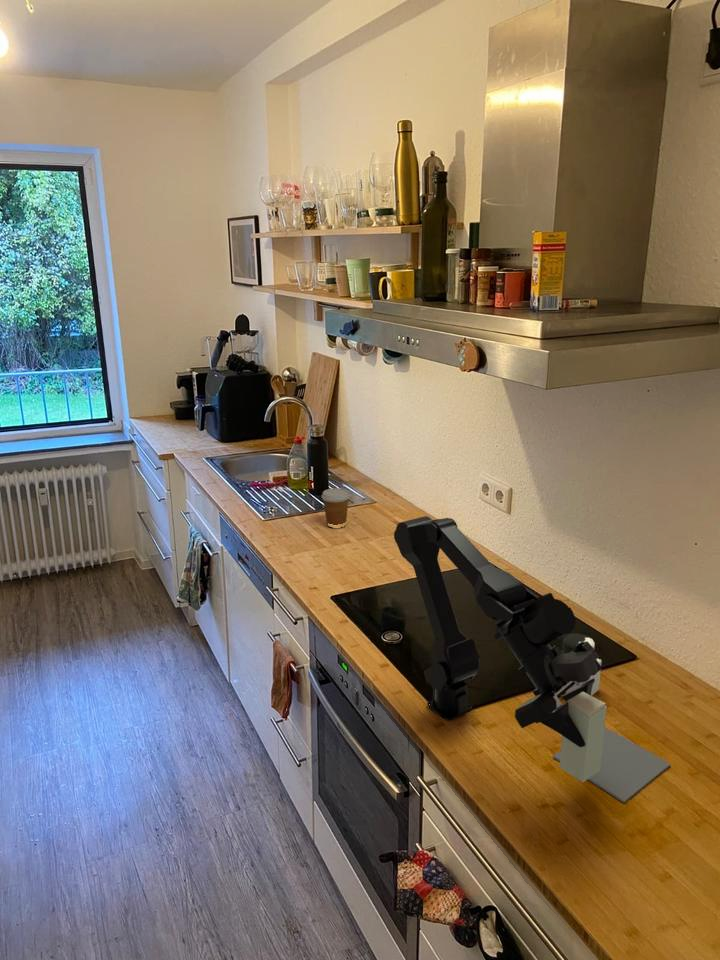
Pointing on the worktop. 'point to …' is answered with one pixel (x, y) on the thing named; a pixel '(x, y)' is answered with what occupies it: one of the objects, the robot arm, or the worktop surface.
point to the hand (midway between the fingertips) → (590, 738)
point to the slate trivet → (624, 767)
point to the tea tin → (584, 737)
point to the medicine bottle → (569, 646)
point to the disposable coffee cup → (336, 505)
